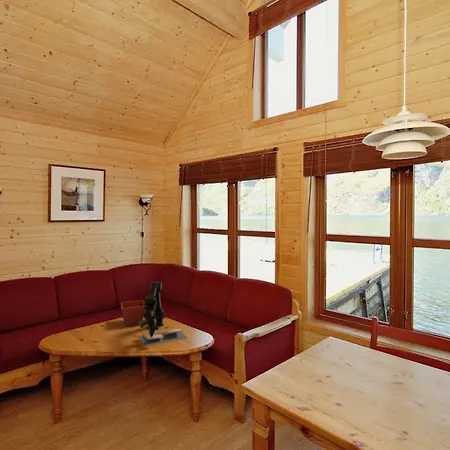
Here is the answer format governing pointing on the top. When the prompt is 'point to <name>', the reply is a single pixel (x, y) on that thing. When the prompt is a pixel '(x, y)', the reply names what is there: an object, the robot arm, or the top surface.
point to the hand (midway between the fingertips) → (151, 336)
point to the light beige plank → (154, 337)
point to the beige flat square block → (172, 332)
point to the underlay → (162, 339)
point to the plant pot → (132, 312)
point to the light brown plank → (157, 333)
